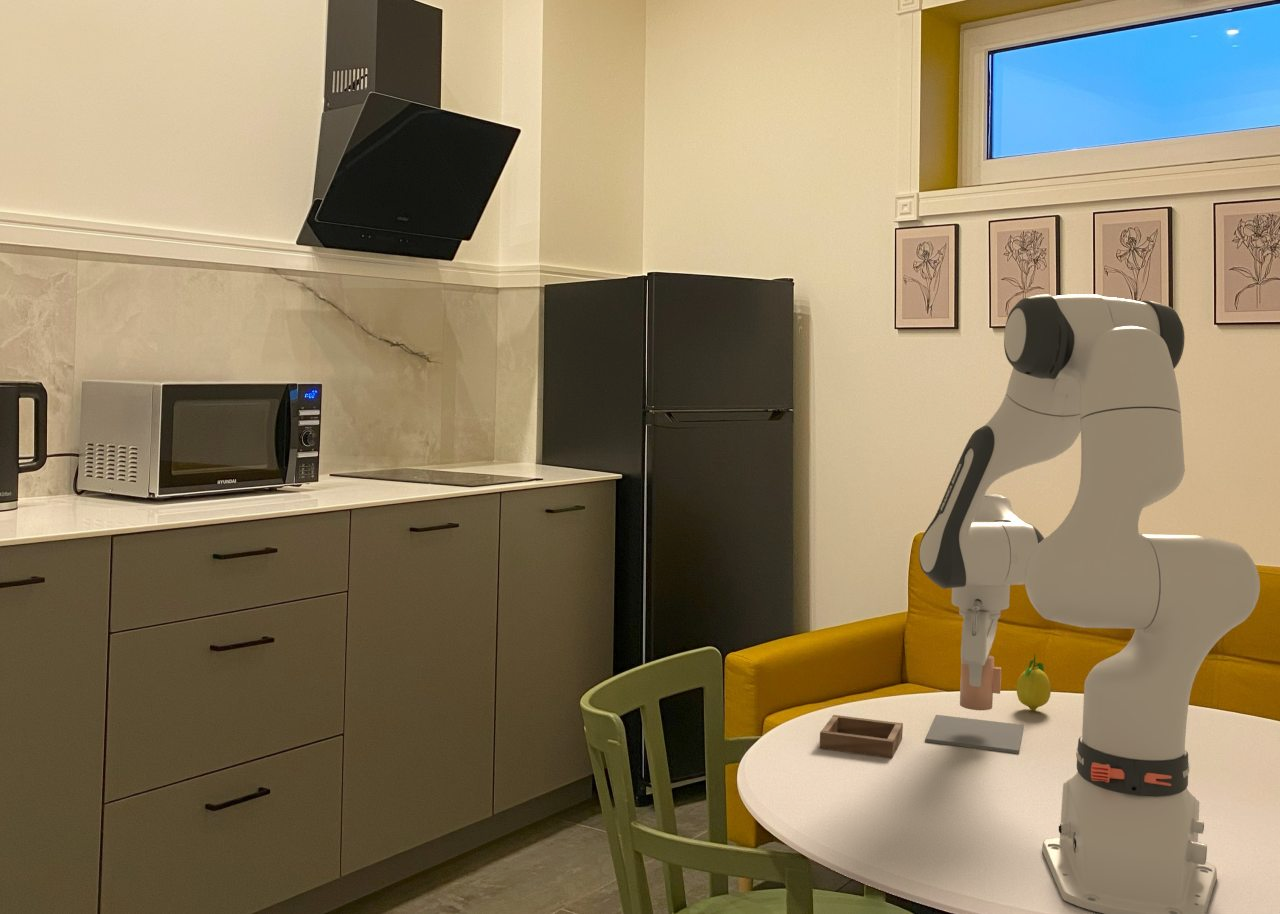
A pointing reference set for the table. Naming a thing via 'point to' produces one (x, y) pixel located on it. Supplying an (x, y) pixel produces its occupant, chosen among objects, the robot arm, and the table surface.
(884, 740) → the brown wooden frame
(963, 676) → the capsule with tab
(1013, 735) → the mat
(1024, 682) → the lemon
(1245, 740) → the table surface
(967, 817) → the table surface
